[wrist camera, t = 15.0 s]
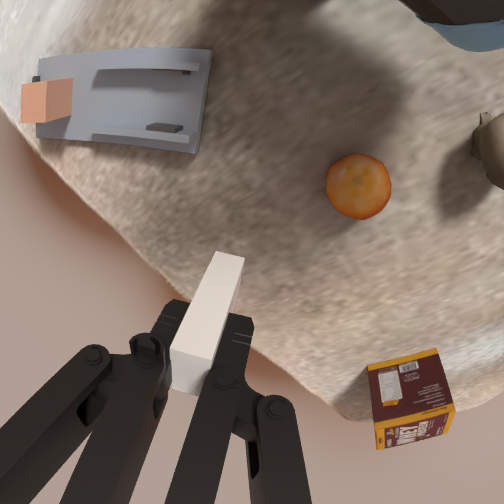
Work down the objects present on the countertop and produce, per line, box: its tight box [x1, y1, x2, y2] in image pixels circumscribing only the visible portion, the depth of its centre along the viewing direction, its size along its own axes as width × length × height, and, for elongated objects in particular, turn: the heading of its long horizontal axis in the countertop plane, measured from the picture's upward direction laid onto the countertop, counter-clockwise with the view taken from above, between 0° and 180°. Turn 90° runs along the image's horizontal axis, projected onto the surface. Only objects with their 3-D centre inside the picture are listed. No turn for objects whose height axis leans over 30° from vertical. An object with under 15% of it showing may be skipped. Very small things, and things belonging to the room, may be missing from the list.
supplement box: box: [367, 348, 456, 450], centre depth 49 cm, size 10×15×16 cm
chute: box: [32, 48, 213, 154], centre depth 34 cm, size 14×30×4 cm, turn 80°
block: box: [21, 78, 74, 123], centre depth 33 cm, size 6×6×6 cm
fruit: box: [326, 153, 391, 220], centre depth 36 cm, size 8×8×8 cm
